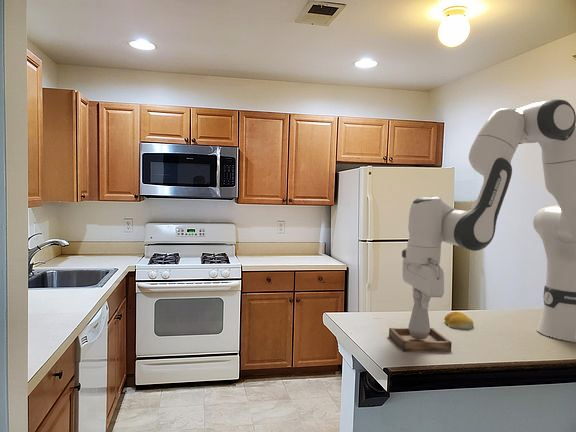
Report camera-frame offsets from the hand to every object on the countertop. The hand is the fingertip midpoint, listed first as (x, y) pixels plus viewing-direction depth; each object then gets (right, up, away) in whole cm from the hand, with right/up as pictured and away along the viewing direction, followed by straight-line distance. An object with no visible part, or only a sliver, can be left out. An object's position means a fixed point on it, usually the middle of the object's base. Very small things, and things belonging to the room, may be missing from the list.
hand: (420, 305), depth 125 cm
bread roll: (+18, -10, +19) cm, 28 cm away
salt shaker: (0, -9, +1) cm, 9 cm away
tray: (0, -11, +1) cm, 11 cm away
